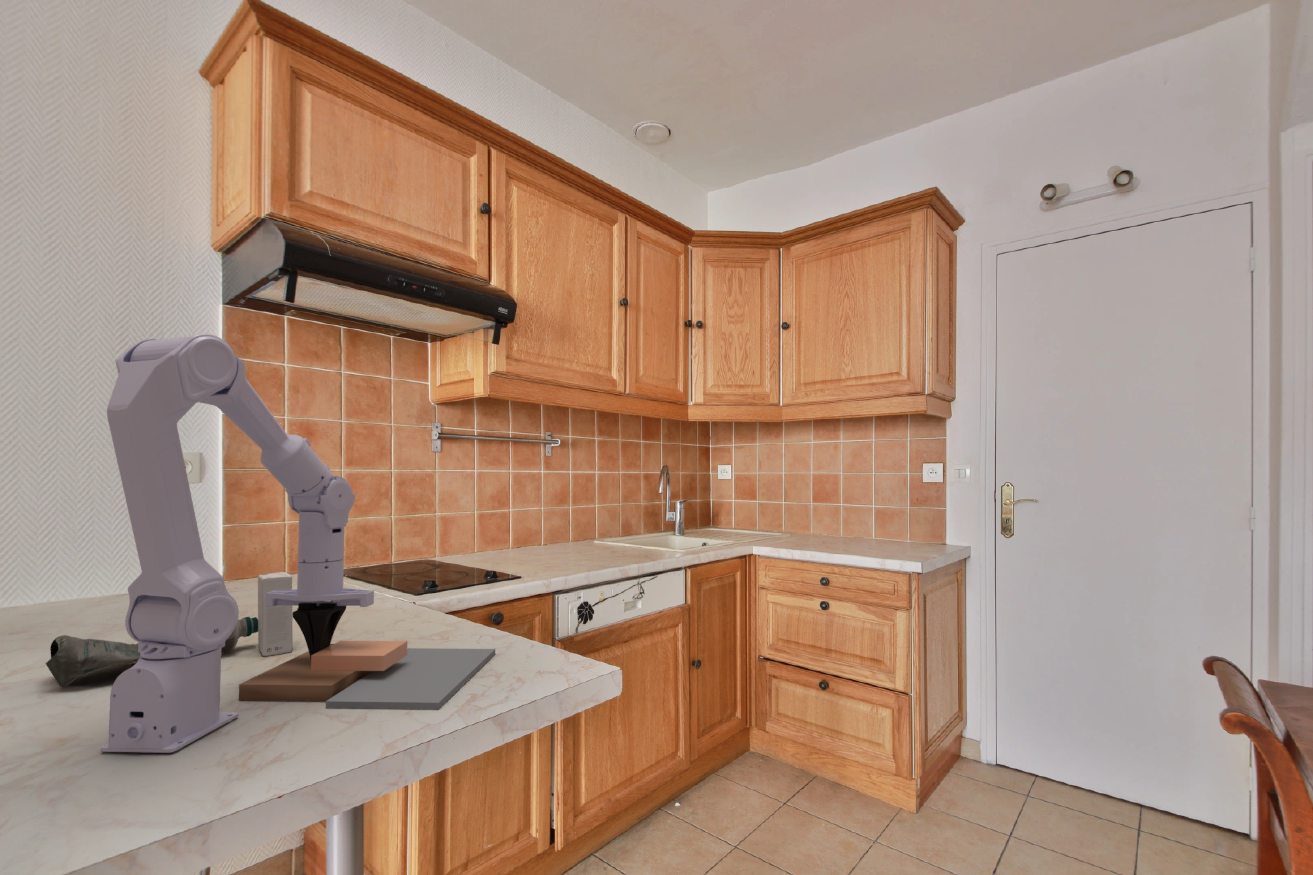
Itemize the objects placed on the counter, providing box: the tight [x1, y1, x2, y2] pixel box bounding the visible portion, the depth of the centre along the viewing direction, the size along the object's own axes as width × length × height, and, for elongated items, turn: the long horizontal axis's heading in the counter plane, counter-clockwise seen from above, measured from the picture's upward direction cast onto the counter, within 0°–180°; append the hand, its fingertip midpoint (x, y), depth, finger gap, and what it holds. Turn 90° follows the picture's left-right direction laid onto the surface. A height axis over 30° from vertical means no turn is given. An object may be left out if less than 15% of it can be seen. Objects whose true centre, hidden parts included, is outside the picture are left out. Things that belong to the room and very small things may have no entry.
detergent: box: [45, 616, 258, 689], centre depth 92 cm, size 13×7×25 cm
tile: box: [311, 640, 408, 671], centre depth 86 cm, size 7×10×2 cm
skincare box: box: [257, 571, 294, 657], centre depth 99 cm, size 6×4×12 cm
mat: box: [325, 647, 496, 710], centre depth 85 cm, size 22×14×1 cm, turn 177°
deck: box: [238, 643, 372, 703], centre depth 86 cm, size 18×12×2 cm, turn 177°
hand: (319, 657), depth 86 cm, fingers closed
